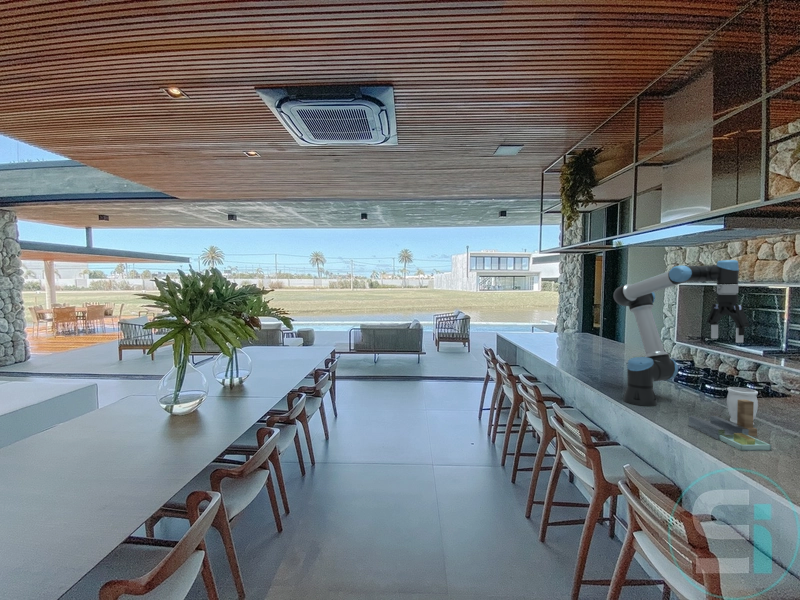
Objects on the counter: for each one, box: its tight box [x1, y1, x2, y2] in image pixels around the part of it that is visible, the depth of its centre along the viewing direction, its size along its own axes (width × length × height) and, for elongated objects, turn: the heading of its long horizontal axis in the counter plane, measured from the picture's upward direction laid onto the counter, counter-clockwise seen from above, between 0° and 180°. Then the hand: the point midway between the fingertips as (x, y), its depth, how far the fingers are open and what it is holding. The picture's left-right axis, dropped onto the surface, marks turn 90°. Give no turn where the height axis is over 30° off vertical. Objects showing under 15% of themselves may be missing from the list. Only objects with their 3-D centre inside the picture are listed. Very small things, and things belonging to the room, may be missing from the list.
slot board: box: [688, 415, 749, 441], centre depth 162 cm, size 16×12×4 cm
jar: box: [726, 386, 759, 426], centre depth 172 cm, size 11×10×15 cm
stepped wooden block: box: [737, 399, 758, 437], centre depth 160 cm, size 5×6×14 cm
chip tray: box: [718, 435, 772, 452], centre depth 149 cm, size 10×11×2 cm
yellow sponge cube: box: [740, 436, 755, 445], centre depth 147 cm, size 3×3×3 cm
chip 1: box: [734, 433, 747, 443], centre depth 151 cm, size 3×3×3 cm
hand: (726, 340), depth 175 cm, fingers open, 13 cm apart
